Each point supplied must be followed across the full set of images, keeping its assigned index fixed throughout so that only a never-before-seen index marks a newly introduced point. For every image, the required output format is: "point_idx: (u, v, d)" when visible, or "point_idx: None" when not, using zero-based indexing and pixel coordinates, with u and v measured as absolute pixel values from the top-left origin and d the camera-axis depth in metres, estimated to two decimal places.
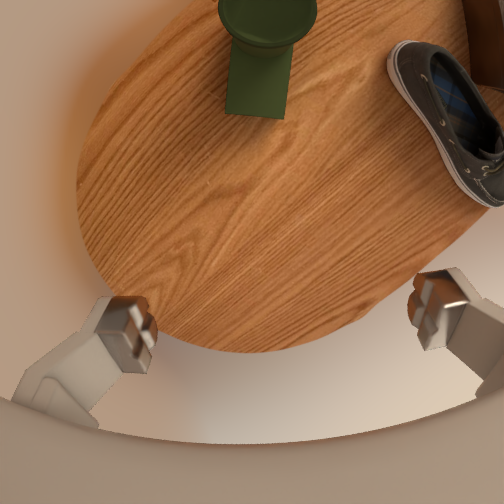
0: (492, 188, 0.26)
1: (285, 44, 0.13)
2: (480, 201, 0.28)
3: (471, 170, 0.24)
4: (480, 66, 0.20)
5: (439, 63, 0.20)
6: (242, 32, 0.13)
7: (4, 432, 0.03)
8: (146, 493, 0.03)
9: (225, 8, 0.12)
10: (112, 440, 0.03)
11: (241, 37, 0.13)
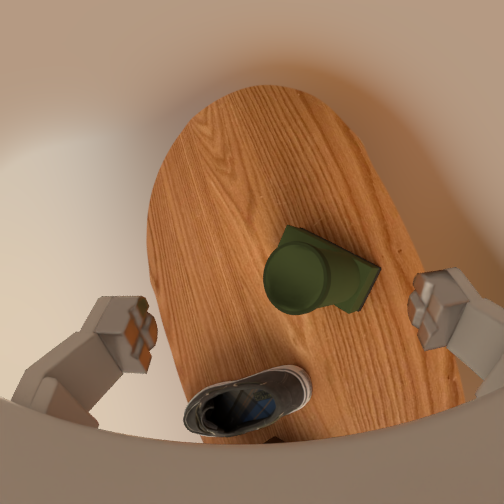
0: (194, 411, 0.41)
1: (263, 277, 0.24)
2: (191, 399, 0.43)
3: (205, 396, 0.38)
4: None
5: None
6: (279, 252, 0.23)
7: (4, 432, 0.03)
8: (146, 493, 0.03)
9: (301, 247, 0.22)
10: (112, 440, 0.03)
11: (276, 250, 0.23)
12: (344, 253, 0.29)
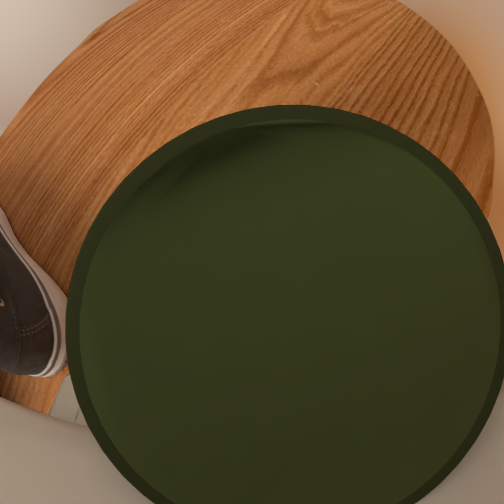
0: None
1: (180, 137, 0.03)
2: None
3: None
4: None
5: None
6: (387, 152, 0.03)
7: (4, 432, 0.03)
8: None
9: (487, 274, 0.03)
10: None
11: (381, 131, 0.03)
12: None
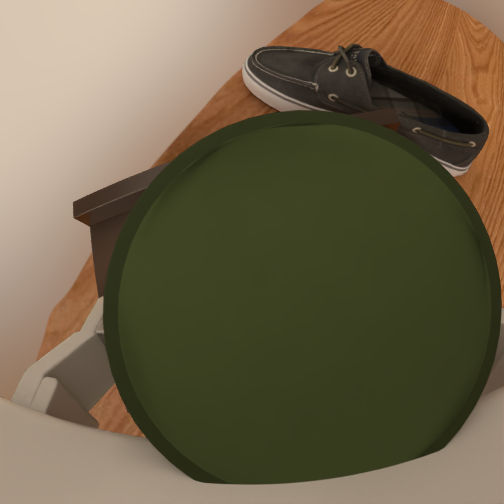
0: (299, 53, 0.24)
1: (211, 136, 0.04)
2: None
3: None
4: None
5: None
6: (390, 151, 0.04)
7: (4, 432, 0.03)
8: (146, 493, 0.03)
9: (478, 256, 0.03)
10: (112, 440, 0.03)
11: (385, 134, 0.04)
12: None
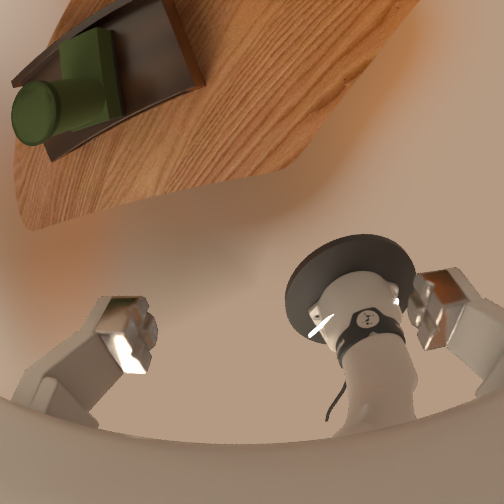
0: None
1: (18, 92, 0.15)
2: None
3: None
4: (174, 10, 0.26)
5: None
6: (38, 86, 0.15)
7: (4, 432, 0.03)
8: (146, 493, 0.03)
9: (50, 99, 0.16)
10: (112, 440, 0.03)
11: (37, 83, 0.15)
12: (104, 90, 0.23)
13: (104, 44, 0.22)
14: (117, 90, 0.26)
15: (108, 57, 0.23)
